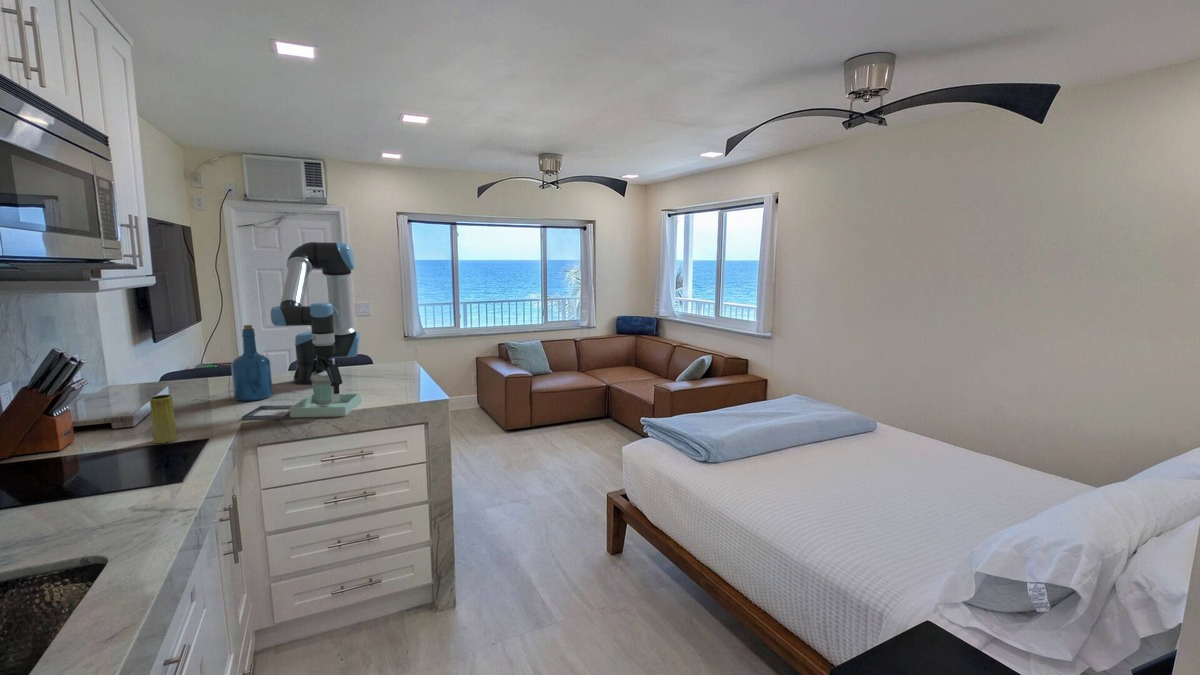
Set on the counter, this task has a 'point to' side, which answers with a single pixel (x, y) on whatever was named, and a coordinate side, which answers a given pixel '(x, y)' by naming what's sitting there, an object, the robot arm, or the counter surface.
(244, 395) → the wine bottle
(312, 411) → the bin
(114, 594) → the counter surface
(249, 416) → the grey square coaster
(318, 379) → the coffee cup
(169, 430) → the vase
